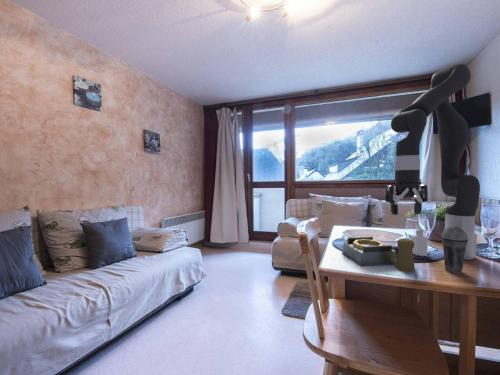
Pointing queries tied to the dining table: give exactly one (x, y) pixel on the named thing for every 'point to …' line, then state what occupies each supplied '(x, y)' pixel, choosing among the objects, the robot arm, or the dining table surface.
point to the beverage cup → (454, 248)
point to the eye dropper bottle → (420, 243)
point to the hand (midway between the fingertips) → (406, 214)
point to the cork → (405, 255)
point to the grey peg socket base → (369, 252)
